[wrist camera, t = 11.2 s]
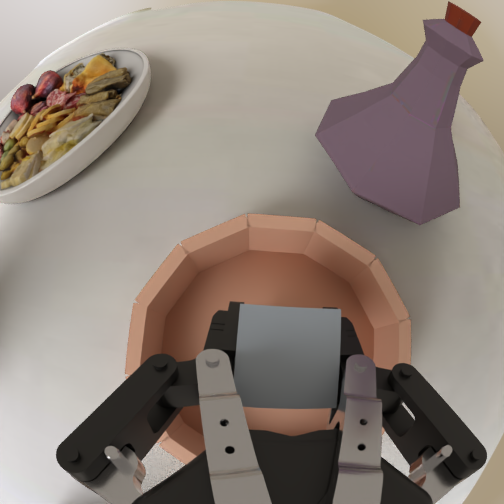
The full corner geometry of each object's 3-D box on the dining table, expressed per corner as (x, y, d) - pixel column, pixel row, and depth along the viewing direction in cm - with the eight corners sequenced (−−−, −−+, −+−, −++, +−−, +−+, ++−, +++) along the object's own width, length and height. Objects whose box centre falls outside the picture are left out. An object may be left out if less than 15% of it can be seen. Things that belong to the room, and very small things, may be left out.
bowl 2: (147, 446, 16) (123, 464, 12) (170, 237, 23) (153, 209, 18) (369, 456, 16) (396, 474, 11) (376, 251, 22) (401, 227, 18)
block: (239, 384, 16) (231, 405, 9) (244, 325, 18) (239, 303, 10) (300, 387, 16) (336, 407, 9) (303, 329, 18) (341, 309, 10)
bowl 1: (198, 77, 32) (191, 31, 25) (51, 253, 23) (4, 220, 15) (81, 69, 37) (70, 41, 30) (-20, 183, 27) (-44, 159, 20)
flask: (401, 281, 21) (582, 134, 3) (272, 163, 26) (291, -47, 7) (457, 188, 25) (546, 76, 7) (359, 106, 30) (400, -25, 11)
